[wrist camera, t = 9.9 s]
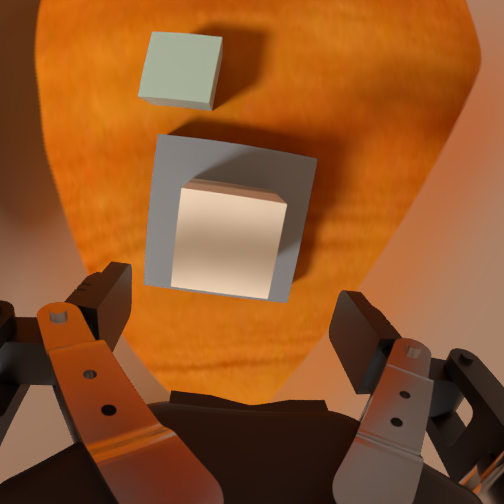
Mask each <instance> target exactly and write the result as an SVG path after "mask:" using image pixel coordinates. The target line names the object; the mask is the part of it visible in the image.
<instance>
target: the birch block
mask: <svg viewBox="0 0 504 504" xmlns="http://www.w3.org/2000/svg"><path fill="white" fill-rule="evenodd" d="M286 207H287V203H286V202H285V201H283V200H282V199H281V198H280V197H279V196H278V195H277V194H276V193H275V192H274V191H273V190H268V189H263V188H256V187H250V186H244V185H238V184H231V183H224V182H217V181H210V180H203V179H196V178H192V179H191V180H190V181H189V182H187V183H186V184H185V185H184V186H183V187H182V188H181V195H180V203H179V211H178V220H177V228H176V238H175V247H174V257H173V268H172V279H171V286H172V287H178V288H185V289H192V290H200V291H207V292H215V293H222V294H230V295H238V296H246V297H254V298H263V299H268V295H269V291H270V286H271V281H272V276H273V271H274V267H275V262H276V257H277V252H278V247H279V242H280V237H281V232H282V227H283V222H284V217H285V212H286Z"/></svg>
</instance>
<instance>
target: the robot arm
mask: <svg viewBox="0 0 504 504" xmlns="http://www.w3.org/2000/svg"><path fill="white" fill-rule="evenodd" d="M131 304H132V267H131V264H126V263H119V262H111V263H110V264H109V265H108V266H107V267H106V268H105V269H104V271H103V272H102V273H101V272H96V273H94V274H92V275H90V276H87V277H86V278H85V280H84V281H83V282H82V283H81V284H80V285H79V286H78V287H77V290H76V289H75V290H74V292H73V293H72V294H71V295H70V296H69V297H68V298H67V299H66V301H65V302H56V303H50V304H47V305H45V306H44V307H42V308H41V309H40V310H39V311H38V313H37V317H15V312H14V307H13V305H12V304H11V303H9V302H7V301H2V300H0V445H1V443H2V441H3V439H4V437H5V435H6V432H7V430H8V428H9V426H10V424H11V422H12V420H13V418H14V416H15V414H16V412H17V410H18V408H19V406H20V404H21V402H22V400H23V398H24V396H25V395H26V393H27V391H28V389H29V387H30V385H52V388H53V390H54V393H55V396H56V399H57V402H58V405H59V407H60V410H61V412H62V415H63V417H64V420H65V422H66V425H67V427H68V430H69V433H70V435H71V438H72V440H73V442H74V444H73V445H71V446H69V447H68V448H66V449H64V450H62V451H60V452H58V453H57V454H55V455H53V456H51V457H49V458H48V459H46V460H44V461H42V462H40V463H38V464H37V465H34V466H33V467H31V468H29V469H27V470H25V471H23V472H21V473H19V474H17V475H15V476H13V477H11V478H9V479H7V480H6V481H4V482H2V483H1V484H0V504H504V387H503V386H502V385H501V383H500V382H499V381H498V380H497V379H496V377H495V376H494V375H493V374H492V373H491V372H490V371H489V370H488V368H487V367H486V366H485V365H484V364H483V363H482V362H481V360H480V359H479V358H478V357H477V356H475V355H474V354H472V353H471V352H469V351H467V350H464V349H458V348H456V349H452V350H451V351H450V353H449V355H448V357H447V359H446V360H441V359H436V358H431V352H430V350H429V349H428V348H427V347H426V346H425V345H424V344H422V343H420V342H418V341H416V340H413V339H409V338H402V337H401V336H400V334H399V333H398V332H397V331H396V329H395V328H394V327H393V326H392V325H391V324H390V322H389V321H388V320H387V319H386V317H385V316H384V315H383V314H382V313H381V312H380V310H378V309H377V308H375V307H374V306H372V305H371V304H370V303H369V302H368V300H367V299H366V298H365V297H364V295H363V294H362V293H361V292H356V291H346V290H343V291H341V292H340V294H339V296H338V300H337V303H336V307H335V310H334V313H333V317H332V320H331V323H330V327H329V338H330V341H331V343H332V345H333V347H334V349H335V351H336V353H337V355H338V357H339V359H340V362H341V363H342V366H343V368H344V370H345V372H346V374H347V376H348V378H349V380H350V382H351V384H352V386H353V388H354V390H355V392H356V394H370V395H371V396H370V398H369V400H368V402H367V404H366V406H365V408H364V410H363V412H362V414H361V416H360V418H359V420H358V421H357V420H355V419H353V418H351V417H349V416H346V415H343V414H341V413H337V412H333V411H328V408H327V406H326V403H325V401H324V400H286V401H280V402H274V403H267V404H260V405H246V404H242V403H238V402H234V401H230V400H227V399H223V398H219V397H215V396H212V395H205V394H196V393H187V392H180V391H172V390H171V395H170V401H165V402H157V403H151V404H147V405H146V404H145V402H144V401H143V399H142V398H141V396H140V395H139V394H138V392H137V391H136V389H135V388H134V386H133V385H132V383H131V382H130V380H129V379H128V377H127V376H126V374H125V373H124V371H123V369H122V368H121V366H120V365H119V363H118V362H117V360H116V358H115V357H114V355H113V353H112V352H113V350H114V348H115V346H116V344H117V342H118V339H119V337H120V335H121V333H122V331H123V329H124V327H125V325H126V323H127V321H128V319H129V316H130V312H131ZM464 397H465V398H466V399H467V401H468V402H469V404H470V405H471V407H472V410H473V417H472V419H471V421H470V423H469V424H468V426H467V427H466V426H465V425H464V423H463V422H462V420H461V419H460V417H459V416H458V414H457V412H456V410H457V408H458V407H459V405H460V403H461V402H462V400H463V399H464ZM425 431H426V432H427V433H428V435H429V437H430V439H431V441H432V443H433V445H434V447H435V449H436V451H437V452H438V455H439V457H440V458H441V461H442V463H443V464H444V467H445V468H446V471H447V473H448V475H449V476H450V478H449V477H447V476H446V475H444V474H442V473H441V472H439V471H437V470H435V469H434V468H432V467H430V466H429V465H427V464H425V463H424V462H423V457H421V449H422V445H423V440H424V436H425Z"/></svg>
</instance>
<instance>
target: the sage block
mask: <svg viewBox="0 0 504 504" xmlns="http://www.w3.org/2000/svg"><path fill="white" fill-rule="evenodd" d="M222 58H223V40H222V37H217V36H208V35H198V34H186V33H171V32H152V35H151V39H150V43H149V47H148V51H147V55H146V60H145V64H144V69H143V73H142V78H141V83H140V88H139V93H138V97H140V98H142V99H144V100H145V101H147V102H149V103H151V104H153V105H162V106H173V107H183V108H192V109H200V110H208V111H212V109H213V103H214V98H215V93H216V88H217V82H218V77H219V72H220V67H221V62H222Z"/></svg>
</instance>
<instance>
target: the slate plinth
mask: <svg viewBox="0 0 504 504" xmlns="http://www.w3.org/2000/svg"><path fill="white" fill-rule="evenodd" d="M317 160H318V159H317V158H312V157H307V156H303V155H298V154H293V153H287V152H282V151H277V150H271V149H266V148H260V147H254V146H248V145H242V144H235V143H229V142H222V141H215V140H207V139H199V138H191V137H183V136H173V135H164V134H158V139H157V146H156V153H155V160H154V168H153V176H152V184H151V193H150V203H149V213H148V225H147V237H146V252H145V269H144V285H150V286H157V287H163V288H170V289H177V290H184V291H192V292H199V293H207V294H214V295H222V296H230V297H238V298H247V299H255V300H264V301H273V302H282V303H287V302H288V298H289V294H290V289H291V285H292V281H293V276H294V272H295V267H296V263H297V258H298V254H299V249H300V245H301V240H302V235H303V231H304V226H305V221H306V216H307V211H308V206H309V202H310V197H311V192H312V186H313V181H314V176H315V171H316V166H317ZM192 178H196V179H203V180H210V181H217V182H224V183H231V184H238V185H244V186H250V187H256V188H263V189H268V190H273V191H274V192H275V193H276V194H277V195H278V196H279V197H280V198H281V199H282V200H283V201H285V202H286V203H287V207H286V212H285V217H284V222H283V227H282V232H281V237H280V242H279V247H278V252H277V257H276V262H275V267H274V271H273V276H272V281H271V286H270V291H269V295H268V299H263V298H254V297H246V296H238V295H230V294H222V293H215V292H207V291H200V290H192V289H185V288H178V287H172V286H171V279H172V268H173V257H174V247H175V238H176V228H177V220H178V211H179V203H180V195H181V188H182V187H183V186H184V185H185V184H186V183H187V182H189V181H190V180H191V179H192Z"/></svg>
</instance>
